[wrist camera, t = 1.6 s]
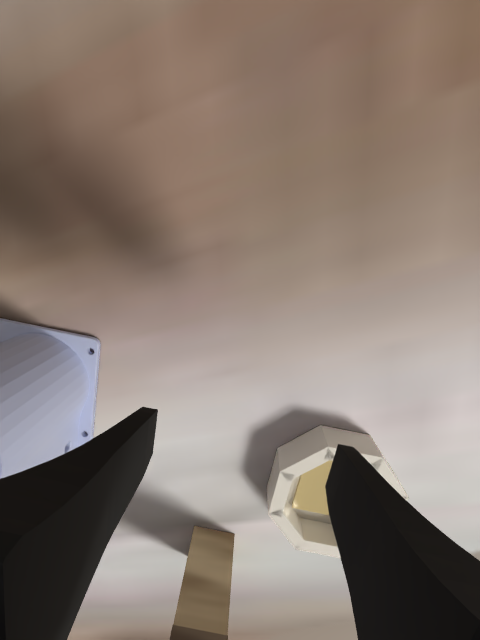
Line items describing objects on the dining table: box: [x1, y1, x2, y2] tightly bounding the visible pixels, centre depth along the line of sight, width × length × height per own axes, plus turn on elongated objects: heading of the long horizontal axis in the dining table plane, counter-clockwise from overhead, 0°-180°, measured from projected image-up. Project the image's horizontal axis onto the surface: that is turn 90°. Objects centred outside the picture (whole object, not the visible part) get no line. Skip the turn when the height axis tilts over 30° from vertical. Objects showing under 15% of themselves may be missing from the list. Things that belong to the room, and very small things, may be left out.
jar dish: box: [267, 425, 409, 558], centre depth 23 cm, size 9×9×2 cm
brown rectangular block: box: [170, 526, 234, 640], centre depth 23 cm, size 4×4×8 cm
